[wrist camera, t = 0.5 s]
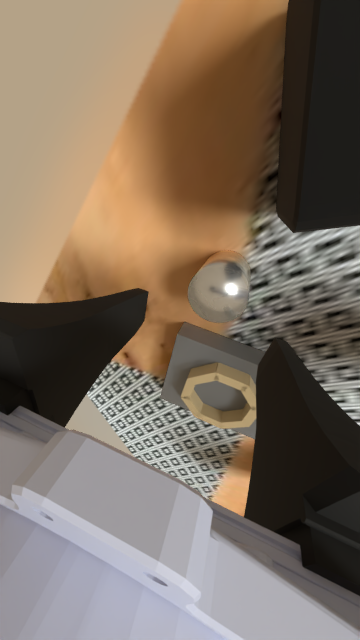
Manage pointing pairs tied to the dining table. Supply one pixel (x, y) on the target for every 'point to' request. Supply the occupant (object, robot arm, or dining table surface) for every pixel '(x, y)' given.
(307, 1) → the electronic device
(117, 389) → the dining table surface
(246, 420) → the grey square plate
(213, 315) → the shiny metal cylinder
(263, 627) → the robot arm
